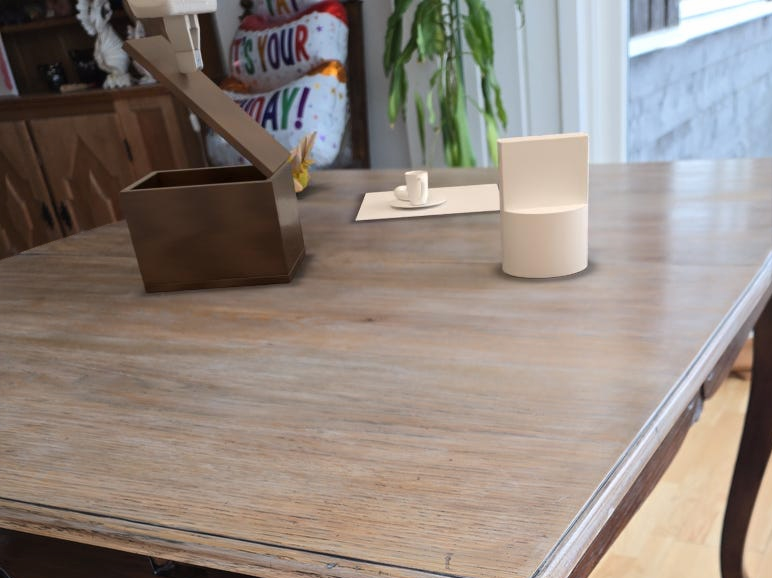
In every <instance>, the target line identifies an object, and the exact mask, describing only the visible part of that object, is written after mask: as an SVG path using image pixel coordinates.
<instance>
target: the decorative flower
mask: <svg viewBox="0 0 772 578" xmlns="http://www.w3.org/2000/svg"><path fill="white" fill-rule="evenodd" d="M317 134H318V131H316V130H314V131H313V133H312V134H311V135H310V130H308V131H307V133H306V135H304V136H302V137H301V139H300V141H299V143H298V146H296V147H295V148H293V149H291V150H290V151H289V152H290V153H291V154H292V155H291V156H290V158H289V159H288V160H287V161H286V162H291V167H292V173H293V179H294V185H295V191H296V194H299V193H300V192H302V191H303V190H304V189H305V188H307V185H308V181H309V180H308V179H310V180H311V181H313V179H312V178H311V176H310V175H309V171H308V169H309V168H311V165H313V164H315V163H316V161H317V160H316V159H314V158H309V157H310V155H311V153H312V150H313V148H314V145H315V141H316V138H317Z"/></svg>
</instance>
